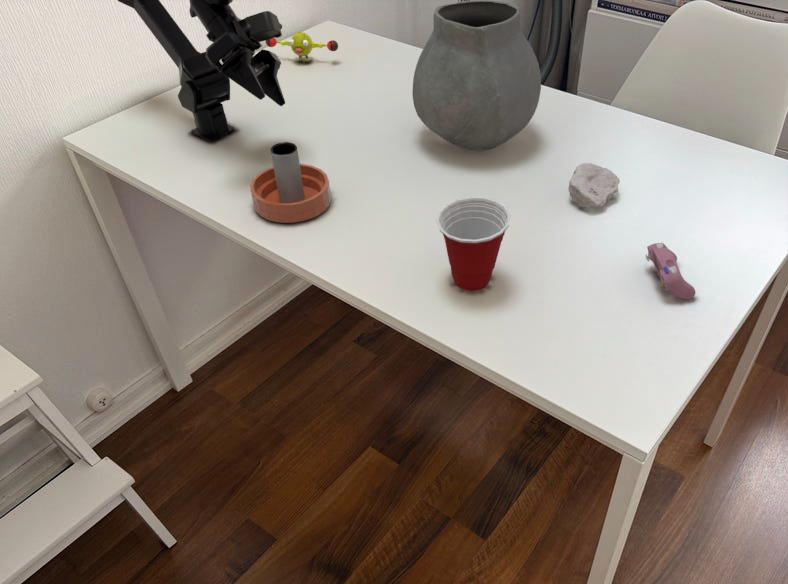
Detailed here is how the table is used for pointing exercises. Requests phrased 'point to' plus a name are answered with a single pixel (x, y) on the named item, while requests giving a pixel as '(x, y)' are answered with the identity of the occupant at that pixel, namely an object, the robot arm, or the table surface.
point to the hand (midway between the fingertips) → (273, 101)
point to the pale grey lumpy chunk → (592, 185)
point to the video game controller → (669, 271)
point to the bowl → (298, 211)
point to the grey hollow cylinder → (287, 172)
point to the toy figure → (302, 44)
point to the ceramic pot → (476, 75)
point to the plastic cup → (473, 238)
